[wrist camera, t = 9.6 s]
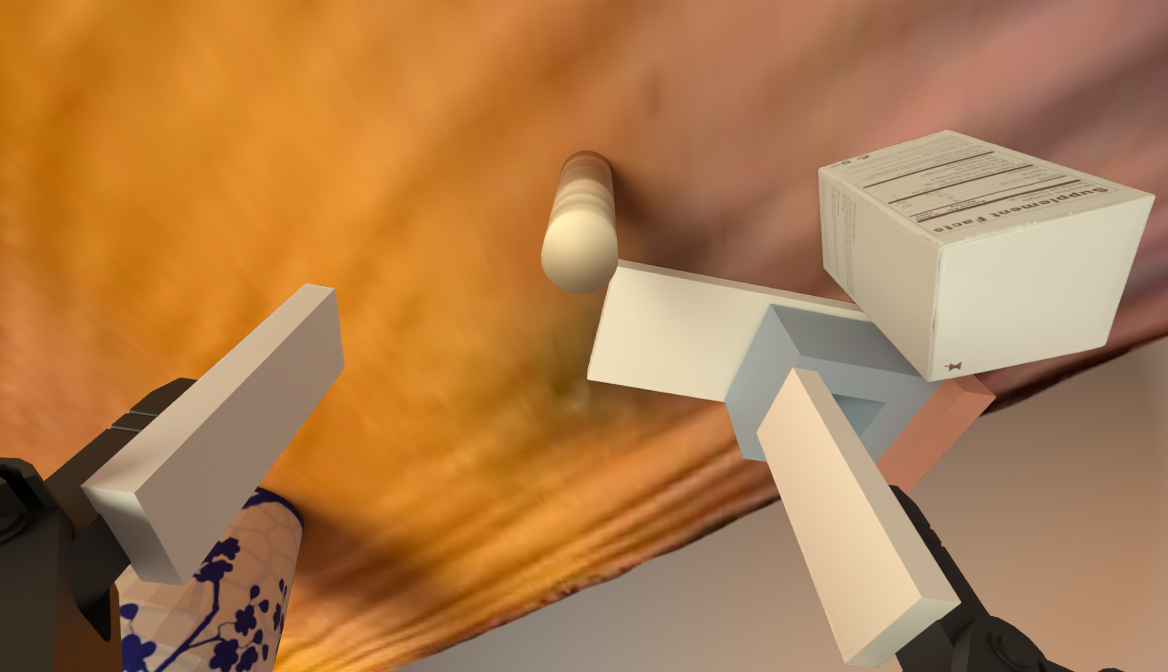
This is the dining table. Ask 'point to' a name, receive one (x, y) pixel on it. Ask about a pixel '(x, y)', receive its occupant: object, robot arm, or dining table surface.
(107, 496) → the robot arm
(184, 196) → the dining table surface
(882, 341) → the socket block
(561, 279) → the dowel
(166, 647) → the vase
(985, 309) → the supplement box
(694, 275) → the peg insertion fixture
